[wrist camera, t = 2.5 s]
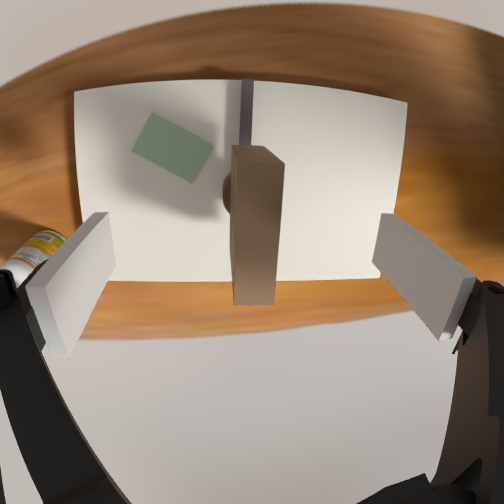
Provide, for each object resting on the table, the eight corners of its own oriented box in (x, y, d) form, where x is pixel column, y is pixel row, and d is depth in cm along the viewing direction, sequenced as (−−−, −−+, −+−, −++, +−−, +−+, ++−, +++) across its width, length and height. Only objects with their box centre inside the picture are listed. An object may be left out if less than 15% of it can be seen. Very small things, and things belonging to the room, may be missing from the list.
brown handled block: (260, 232, 25) (283, 304, 16) (221, 232, 24) (223, 305, 16) (268, 81, 20) (302, 61, 11) (225, 79, 20) (228, 56, 11)
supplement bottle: (56, 288, 28) (14, 350, 19) (23, 249, 25) (-30, 301, 17) (86, 260, 27) (43, 323, 18) (51, 217, 25) (-7, 266, 16)
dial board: (395, 102, 23) (408, 102, 21) (371, 267, 30) (380, 278, 28) (84, 92, 20) (72, 91, 18) (99, 269, 27) (92, 281, 25)
